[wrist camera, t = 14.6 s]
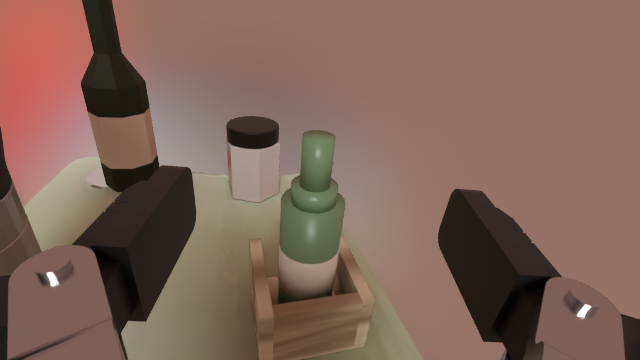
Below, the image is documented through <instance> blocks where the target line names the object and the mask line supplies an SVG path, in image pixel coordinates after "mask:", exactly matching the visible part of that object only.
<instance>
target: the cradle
mask: <svg viewBox="0 0 640 360" xmlns="http://www.w3.org/2000/svg"><path fill="white" fill-rule="evenodd" d="M339 245H340V247H339V255H338V262H337V268H336V275H335V282H334V286H333V292H332V296H329V297H322V298H316V299H309V300H303V301H296V302H290V303H283V304H278V276H276V277H269V278H267V274H266V268H265V263H264V257H263V251H262V245H261V239H260V238H259V239H249V254H250V287H251V296H252V305H253V314H254V323H255V332H256V341H257V350H258V359H259V360H300V359H305V358H310V357H315V356H320V355H325V354H330V353H335V352H340V351H345V350H350V349H355V348H360V347H365V342H366V338H367V334H368V329H369V325H370V321H371V316H372V312H373V308H374V303H375V299H374V297H373V295H372V293H371V291H370V289H369V287H368V285H367V283H366V281H365V279H364V277H363V275H362V273H361V271H360V269H359V267H358V265H357V263H356V261H355V259H354V257H353V255H352V253H351V251H350V249H349V248H348V246H347V244H346V242H345V240H344V238H343V236H342V234H341V237H340V244H339Z"/></svg>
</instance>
